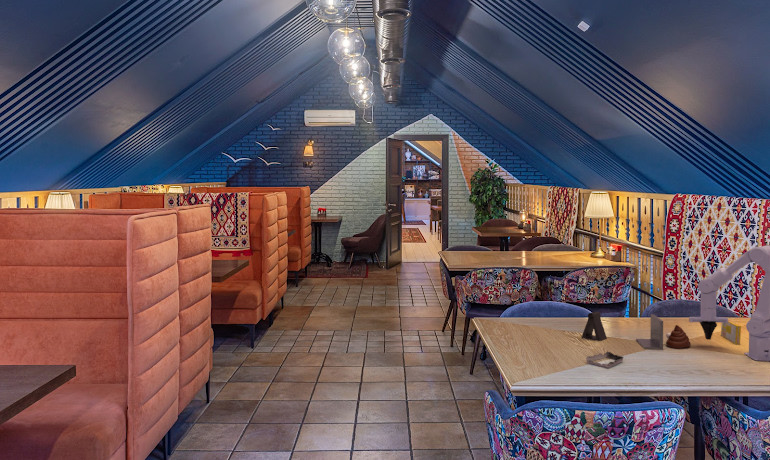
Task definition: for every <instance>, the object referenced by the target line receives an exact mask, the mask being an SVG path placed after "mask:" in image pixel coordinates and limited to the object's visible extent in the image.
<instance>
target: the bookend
mask: <svg viewBox="0 0 770 460" xmlns="http://www.w3.org/2000/svg"><path fill="white" fill-rule="evenodd" d="M635 341H636V343H638V344H639V345H640V346H641V347H642V348H643V349H644V350H664V320H662V319H661V318H660V317H658V316H657V315H655V314H654V313H651V314H650V338H636V339H635Z"/></svg>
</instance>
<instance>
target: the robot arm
mask: <svg viewBox="0 0 770 460" xmlns="http://www.w3.org/2000/svg"><path fill="white" fill-rule="evenodd" d="M750 263H755V264H756V265H758V266H759V267H761V268H762V270H763V271H764V272H765V274H764V277H763V281H762V284H761V288H760V293H759V295H758V300H757V303H756V307H755V310H754V311H753V313H752V314H751V316H750V319H749V320H748V321H747V322H746V325H745V328H746V330H747V332H748V352H743V354H744V355H745V356H747V357H749V358H750V359H752V360H753V361H758V362H759V361H761V362H762V361H763V362H765V361H766V362H770V245H769V244H767V245H762V246H754V247H752V248H751V249H749V250H747V251H746V252H744V253H743V254H742V255H740V256H739V257H738V258H736V259H735V261H733V262H731V263H730V264H729V265H728V266H727V267H720V268H719V267H717V268H716V269H715V271H714V273H711V275H709V274H708V275H707V276H706V279H701V280H699V282H698V284H697V287H698V290H699V291H700V316H699V315H698V316H688V322H689V323H699V324H700V326H701V327H702V330H703V333H704V338H705V339H706V340H707V341H708V340H709V341H710V340H712V336H713V333H714V332H715V329H716V328H717V326H718V323H722V322H725V323H728V320H729V318H728V317H726V316H725V317H724V316H723V317H722V316H717V292H718V291H719V289H720V288H721V287H722V286H724V285H725V284H726V283H728V282H729V281H730V280H732V279H733V275H734V274H735V273H737V272H738V271H739V270H741V269H742V268H744V267H745V266H747V265H749V264H750Z"/></svg>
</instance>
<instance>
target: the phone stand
mask: <svg viewBox="0 0 770 460" xmlns="http://www.w3.org/2000/svg"><path fill="white" fill-rule="evenodd" d="M593 333H594V335H593ZM581 338H582V339H587V340H592V341H597V342H602V341H604V340H607V334H606V331H605V328H604V325H603V322H602V318H601V312H600V311H597V310H596V311H593V312H590V313H588V314H587V321H586V325H584V330H583V332H582V335H581Z"/></svg>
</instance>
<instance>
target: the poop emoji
mask: <svg viewBox="0 0 770 460" xmlns="http://www.w3.org/2000/svg"><path fill="white" fill-rule="evenodd" d="M666 339H667V340H666V342H665V344H666V346H667V347H669V348H671V349H677V350H678V349H679V350H680V349H683V348H686V349H688V348H690V347H691V345H692V344H691V341H690V339H689V336H688V335H687V333H686V332H685V331H684V329H683V328H682V327H681V326H680V325H678V324H675V326H674V328H673V330H672V331H671V332H667V333H666Z"/></svg>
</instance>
